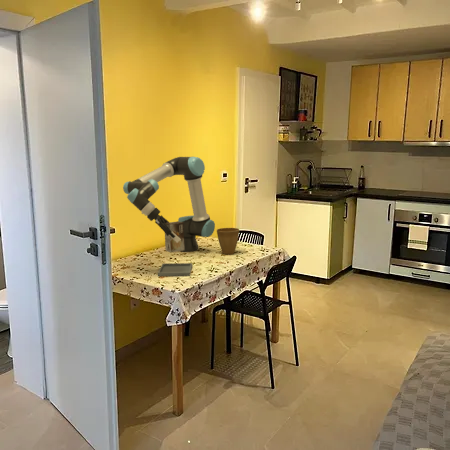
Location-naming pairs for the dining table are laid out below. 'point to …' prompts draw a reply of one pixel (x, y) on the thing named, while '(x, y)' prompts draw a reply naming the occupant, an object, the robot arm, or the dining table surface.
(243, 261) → the dining table surface
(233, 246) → the plant pot
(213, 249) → the dining table surface
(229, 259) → the dining table surface
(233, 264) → the dining table surface
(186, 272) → the tray
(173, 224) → the coffee box
